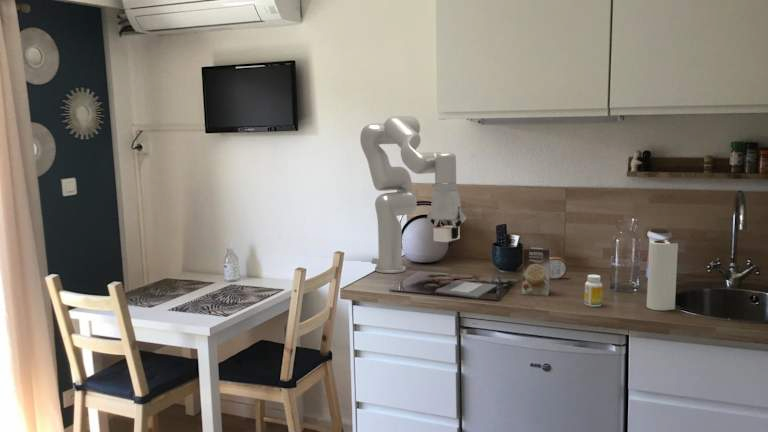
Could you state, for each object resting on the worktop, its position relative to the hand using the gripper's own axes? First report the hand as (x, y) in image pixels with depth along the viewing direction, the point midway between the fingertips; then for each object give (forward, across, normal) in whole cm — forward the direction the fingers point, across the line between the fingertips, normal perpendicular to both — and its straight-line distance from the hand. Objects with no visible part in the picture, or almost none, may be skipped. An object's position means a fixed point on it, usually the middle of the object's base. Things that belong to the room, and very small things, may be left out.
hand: (446, 237), depth 233 cm
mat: (+18, +7, +1) cm, 20 cm away
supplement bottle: (+20, +51, +2) cm, 55 cm away
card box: (+1, 0, 0) cm, 1 cm away
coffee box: (+19, +30, +8) cm, 37 cm away
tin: (+19, +27, +30) cm, 44 cm away
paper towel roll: (+20, +70, +8) cm, 73 cm away
